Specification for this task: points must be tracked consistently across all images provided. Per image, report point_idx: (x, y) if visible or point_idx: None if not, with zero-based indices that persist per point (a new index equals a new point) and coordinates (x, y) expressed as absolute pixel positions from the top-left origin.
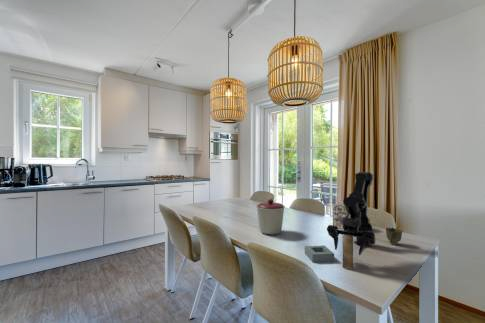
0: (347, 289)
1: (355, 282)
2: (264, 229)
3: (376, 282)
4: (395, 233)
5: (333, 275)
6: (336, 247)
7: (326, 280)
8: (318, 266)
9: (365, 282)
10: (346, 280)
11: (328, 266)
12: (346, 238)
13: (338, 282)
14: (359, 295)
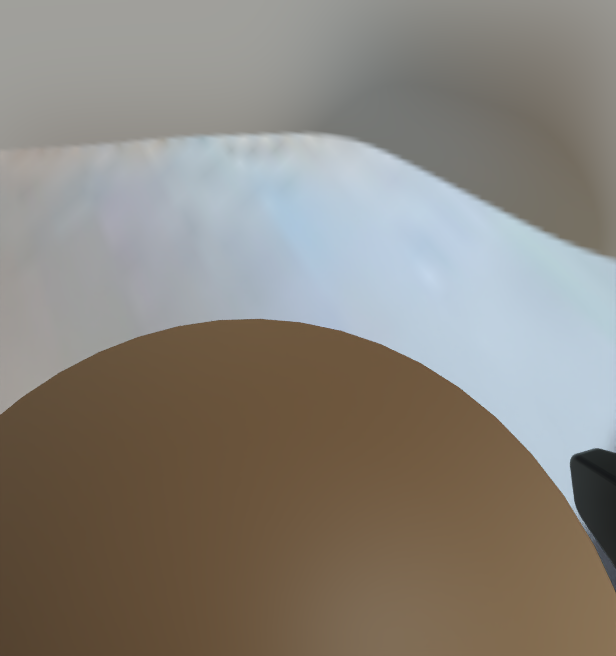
0: (114, 157)
1: (95, 314)
2: None
3: None
4: None
5: (334, 265)
6: (604, 503)
7: (322, 140)
8: (605, 314)
9: (7, 399)
10: (182, 279)
11: (533, 422)
12: (183, 347)
13: (224, 191)
14: (9, 156)
